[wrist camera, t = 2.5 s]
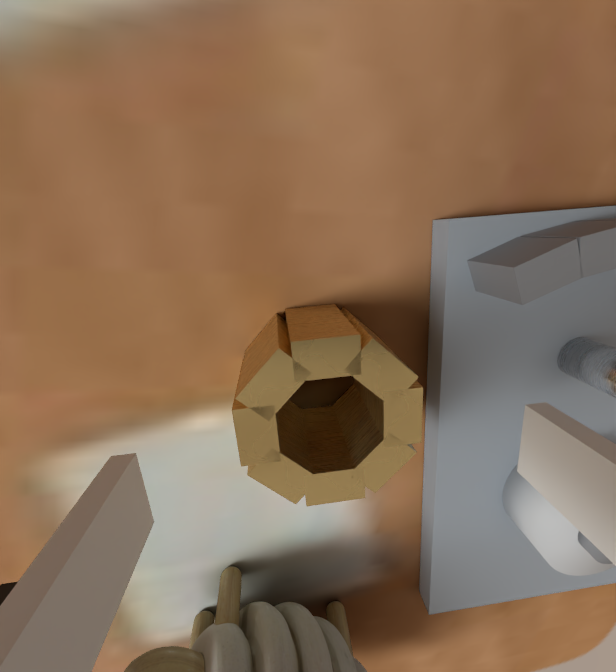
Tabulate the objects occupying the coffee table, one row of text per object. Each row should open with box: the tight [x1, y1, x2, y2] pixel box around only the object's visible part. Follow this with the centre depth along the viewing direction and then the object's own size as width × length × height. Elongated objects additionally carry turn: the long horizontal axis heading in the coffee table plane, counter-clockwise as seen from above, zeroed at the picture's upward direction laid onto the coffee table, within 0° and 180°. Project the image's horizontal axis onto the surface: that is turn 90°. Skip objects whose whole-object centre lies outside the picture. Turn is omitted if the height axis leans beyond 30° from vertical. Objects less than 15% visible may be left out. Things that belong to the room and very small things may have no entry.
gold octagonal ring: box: [232, 304, 423, 506], centre depth 15 cm, size 7×7×5 cm
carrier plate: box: [419, 205, 616, 615], centre depth 17 cm, size 24×14×5 cm, turn 4°
